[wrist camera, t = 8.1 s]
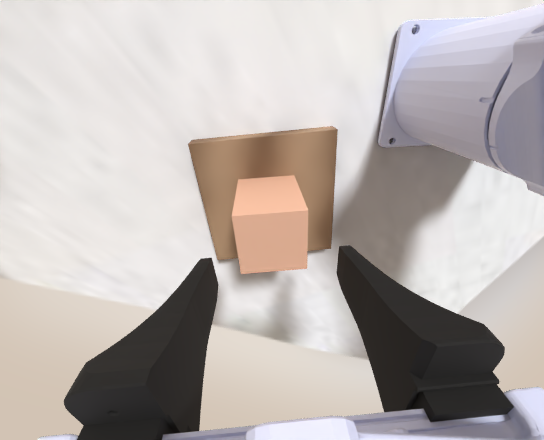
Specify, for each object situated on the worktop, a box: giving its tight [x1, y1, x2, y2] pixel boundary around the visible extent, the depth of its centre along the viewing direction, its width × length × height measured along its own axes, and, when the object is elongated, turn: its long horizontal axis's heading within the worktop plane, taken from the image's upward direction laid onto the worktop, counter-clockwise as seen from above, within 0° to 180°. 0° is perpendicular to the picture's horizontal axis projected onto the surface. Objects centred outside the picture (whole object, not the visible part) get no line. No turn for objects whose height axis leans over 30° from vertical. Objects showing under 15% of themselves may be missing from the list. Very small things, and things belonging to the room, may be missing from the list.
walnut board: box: [188, 126, 337, 260], centre depth 21 cm, size 11×11×2 cm
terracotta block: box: [232, 175, 308, 274], centre depth 18 cm, size 4×4×6 cm
